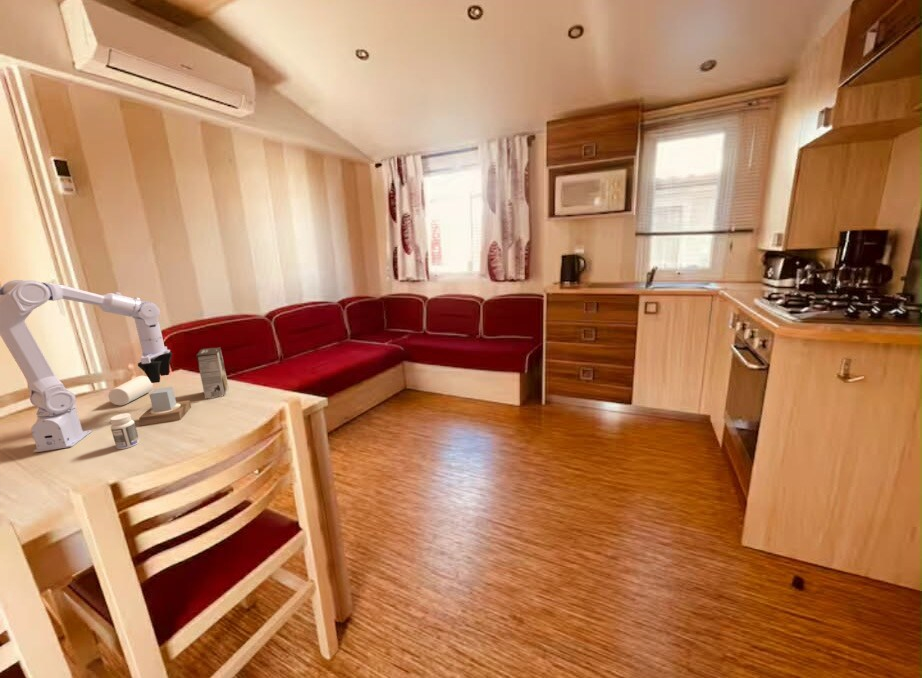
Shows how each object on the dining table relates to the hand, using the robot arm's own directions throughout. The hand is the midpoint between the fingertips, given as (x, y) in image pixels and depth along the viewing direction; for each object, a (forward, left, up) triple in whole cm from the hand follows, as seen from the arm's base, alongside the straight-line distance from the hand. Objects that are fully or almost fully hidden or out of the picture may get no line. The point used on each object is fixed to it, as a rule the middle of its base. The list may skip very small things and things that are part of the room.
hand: (160, 378), depth 122 cm
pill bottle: (-27, 0, -10) cm, 29 cm away
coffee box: (+7, -13, -10) cm, 18 cm away
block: (-9, -3, -7) cm, 12 cm away
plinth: (-9, -3, -10) cm, 14 cm away
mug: (+8, +17, -8) cm, 20 cm away
